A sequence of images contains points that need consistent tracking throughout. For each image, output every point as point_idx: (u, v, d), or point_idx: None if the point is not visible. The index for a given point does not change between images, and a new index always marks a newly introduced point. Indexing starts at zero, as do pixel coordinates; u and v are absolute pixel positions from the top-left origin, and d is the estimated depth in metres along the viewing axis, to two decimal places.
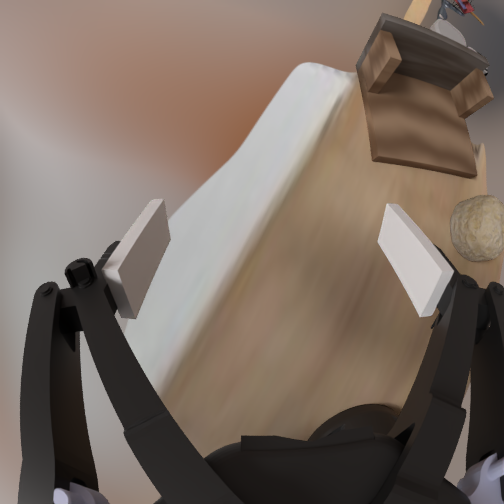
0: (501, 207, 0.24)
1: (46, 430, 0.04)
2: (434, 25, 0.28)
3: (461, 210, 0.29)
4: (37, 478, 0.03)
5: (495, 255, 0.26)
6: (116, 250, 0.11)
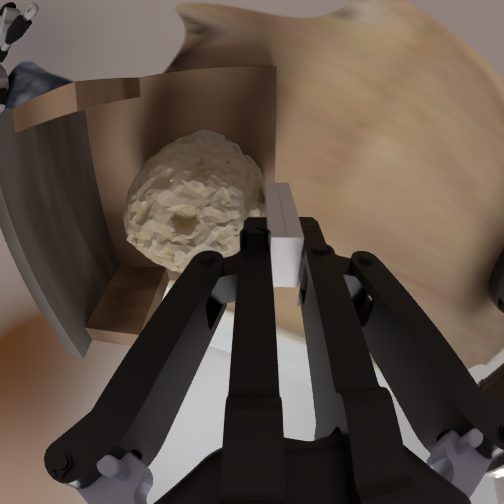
0: (141, 234, 0.14)
1: (137, 400, 0.06)
2: None
3: None
4: (94, 435, 0.05)
5: (253, 215, 0.16)
6: (270, 222, 0.13)
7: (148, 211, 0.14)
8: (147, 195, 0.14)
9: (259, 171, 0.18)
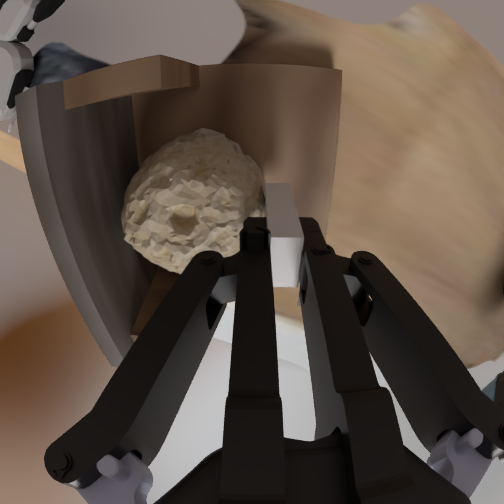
0: (139, 234, 0.14)
1: (137, 400, 0.06)
2: None
3: None
4: (94, 435, 0.05)
5: (253, 215, 0.16)
6: (270, 222, 0.13)
7: (146, 210, 0.14)
8: (145, 194, 0.13)
9: (259, 171, 0.18)
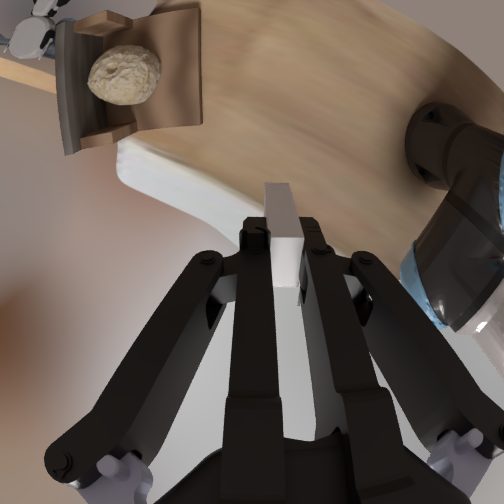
0: (93, 77, 0.24)
1: (137, 400, 0.06)
2: (23, 58, 0.24)
3: None
4: (95, 435, 0.05)
5: (143, 66, 0.26)
6: (269, 222, 0.13)
7: (98, 67, 0.24)
8: (99, 61, 0.23)
9: (156, 58, 0.28)
